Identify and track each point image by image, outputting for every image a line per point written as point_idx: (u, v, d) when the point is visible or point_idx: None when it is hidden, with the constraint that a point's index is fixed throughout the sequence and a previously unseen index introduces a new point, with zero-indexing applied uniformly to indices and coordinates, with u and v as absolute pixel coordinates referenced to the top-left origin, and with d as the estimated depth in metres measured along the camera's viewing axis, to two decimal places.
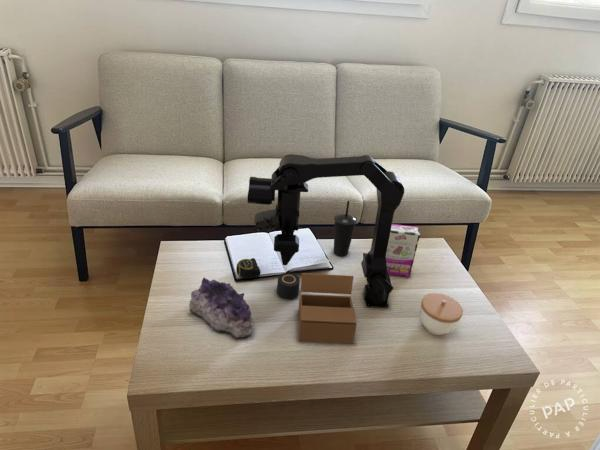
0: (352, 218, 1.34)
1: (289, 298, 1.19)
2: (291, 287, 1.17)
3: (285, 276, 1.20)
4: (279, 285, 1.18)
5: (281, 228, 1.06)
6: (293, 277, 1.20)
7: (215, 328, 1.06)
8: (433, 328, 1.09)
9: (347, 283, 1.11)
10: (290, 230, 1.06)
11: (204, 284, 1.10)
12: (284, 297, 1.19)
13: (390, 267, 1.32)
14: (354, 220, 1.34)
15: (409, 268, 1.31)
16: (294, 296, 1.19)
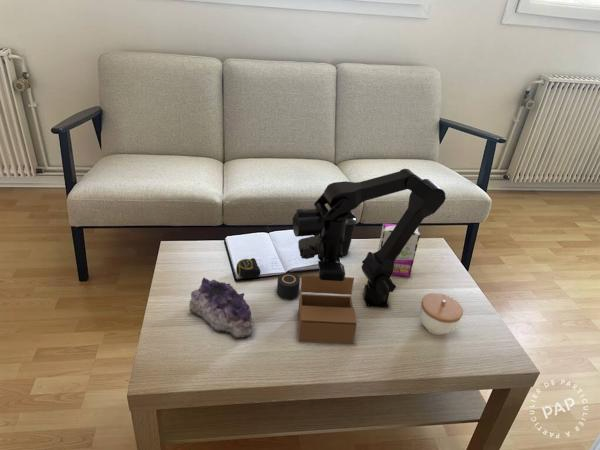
0: None
1: (289, 298, 1.19)
2: (291, 287, 1.17)
3: (285, 276, 1.20)
4: (279, 285, 1.18)
5: (325, 255, 1.06)
6: (293, 277, 1.20)
7: (215, 328, 1.06)
8: (433, 328, 1.09)
9: (347, 284, 1.11)
10: (334, 257, 1.06)
11: (204, 284, 1.10)
12: (284, 297, 1.19)
13: None
14: (354, 220, 1.34)
15: (409, 268, 1.31)
16: (294, 296, 1.19)
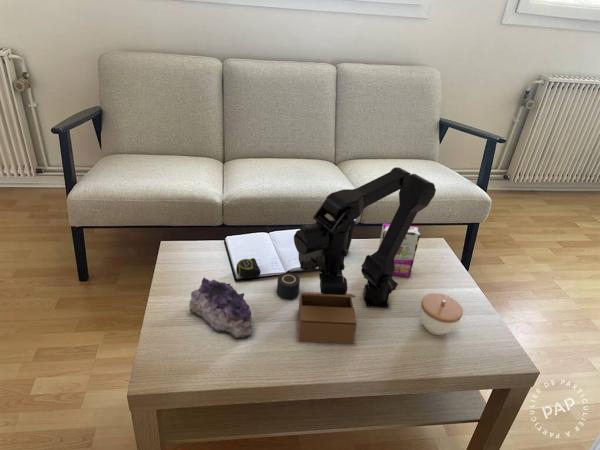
0: None
1: (289, 298, 1.19)
2: (291, 287, 1.17)
3: (285, 276, 1.20)
4: (279, 285, 1.18)
5: (327, 267, 1.01)
6: (293, 277, 1.20)
7: (215, 328, 1.06)
8: (433, 328, 1.09)
9: None
10: (336, 270, 1.01)
11: (204, 284, 1.10)
12: (284, 297, 1.19)
13: None
14: (354, 220, 1.34)
15: (409, 268, 1.31)
16: (294, 296, 1.19)
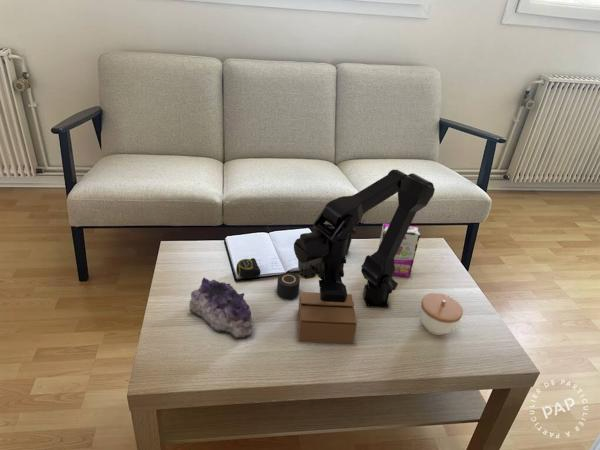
0: None
1: (289, 298, 1.19)
2: (291, 287, 1.17)
3: (285, 276, 1.20)
4: (279, 285, 1.18)
5: (326, 274, 1.02)
6: (293, 277, 1.20)
7: (215, 328, 1.06)
8: (433, 328, 1.09)
9: None
10: (335, 277, 1.02)
11: (204, 284, 1.10)
12: (284, 297, 1.19)
13: None
14: None
15: (409, 268, 1.31)
16: (294, 296, 1.19)
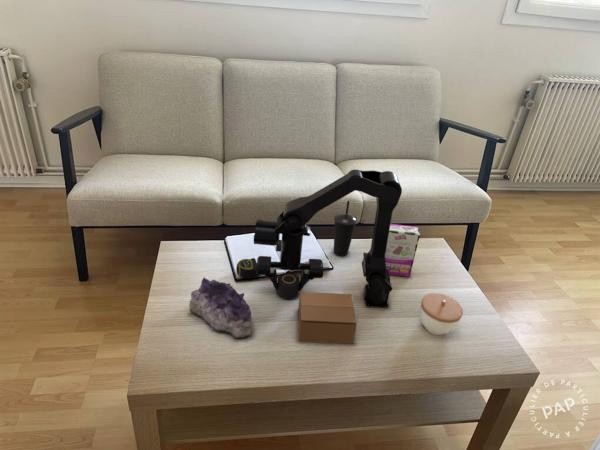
0: (352, 218, 1.34)
1: (289, 298, 1.19)
2: (291, 287, 1.17)
3: (285, 276, 1.20)
4: (279, 285, 1.18)
5: None
6: (293, 277, 1.20)
7: (215, 328, 1.06)
8: (433, 328, 1.09)
9: None
10: (280, 264, 1.16)
11: (204, 284, 1.10)
12: (284, 297, 1.19)
13: (390, 267, 1.32)
14: (354, 220, 1.34)
15: (409, 268, 1.31)
16: (294, 296, 1.19)
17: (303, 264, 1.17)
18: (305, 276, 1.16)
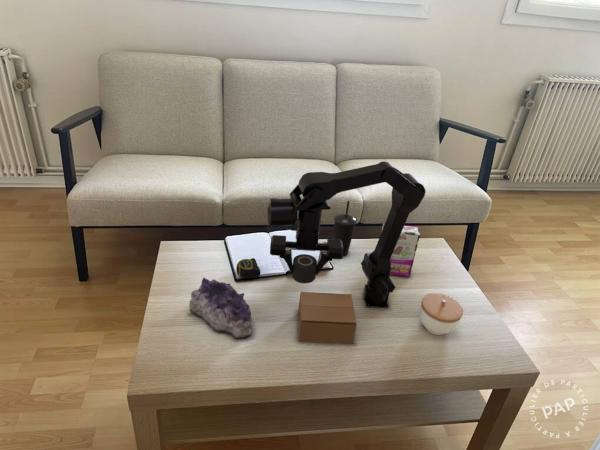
0: (352, 218, 1.34)
1: (305, 282, 1.09)
2: (308, 269, 1.07)
3: (301, 257, 1.10)
4: (294, 267, 1.08)
5: None
6: (309, 259, 1.10)
7: (215, 328, 1.06)
8: (433, 328, 1.09)
9: None
10: (296, 244, 1.05)
11: (204, 284, 1.10)
12: (300, 280, 1.09)
13: None
14: (354, 220, 1.34)
15: (409, 268, 1.31)
16: (311, 279, 1.09)
17: (321, 244, 1.06)
18: (323, 257, 1.06)
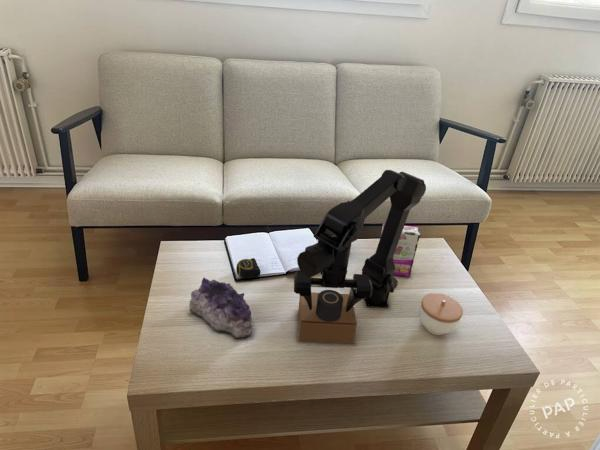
0: None
1: (331, 320, 1.02)
2: (334, 308, 1.00)
3: (326, 294, 1.04)
4: (320, 305, 1.01)
5: None
6: (335, 295, 1.03)
7: (215, 328, 1.06)
8: (433, 328, 1.09)
9: None
10: (322, 281, 0.99)
11: (204, 284, 1.10)
12: (325, 319, 1.02)
13: None
14: None
15: (409, 268, 1.31)
16: (337, 318, 1.03)
17: (348, 281, 1.00)
18: (356, 295, 0.99)
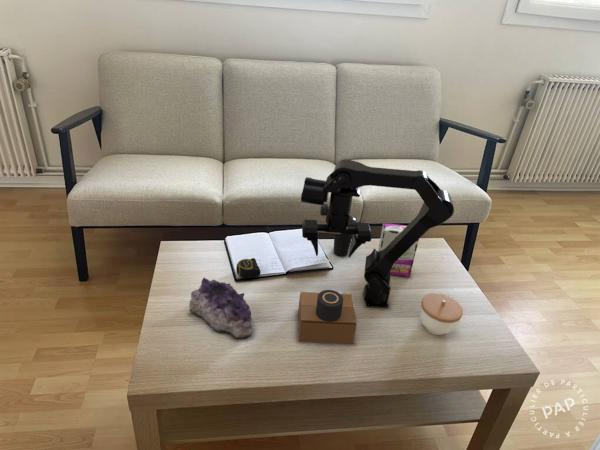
0: (352, 218, 1.34)
1: (331, 320, 1.02)
2: (334, 308, 1.00)
3: (326, 294, 1.04)
4: (320, 305, 1.01)
5: None
6: (335, 295, 1.03)
7: (215, 328, 1.06)
8: (433, 328, 1.09)
9: None
10: (327, 228, 1.12)
11: (204, 284, 1.10)
12: (325, 319, 1.02)
13: None
14: (354, 220, 1.34)
15: (409, 268, 1.31)
16: (337, 318, 1.03)
17: (350, 228, 1.13)
18: (357, 240, 1.12)
